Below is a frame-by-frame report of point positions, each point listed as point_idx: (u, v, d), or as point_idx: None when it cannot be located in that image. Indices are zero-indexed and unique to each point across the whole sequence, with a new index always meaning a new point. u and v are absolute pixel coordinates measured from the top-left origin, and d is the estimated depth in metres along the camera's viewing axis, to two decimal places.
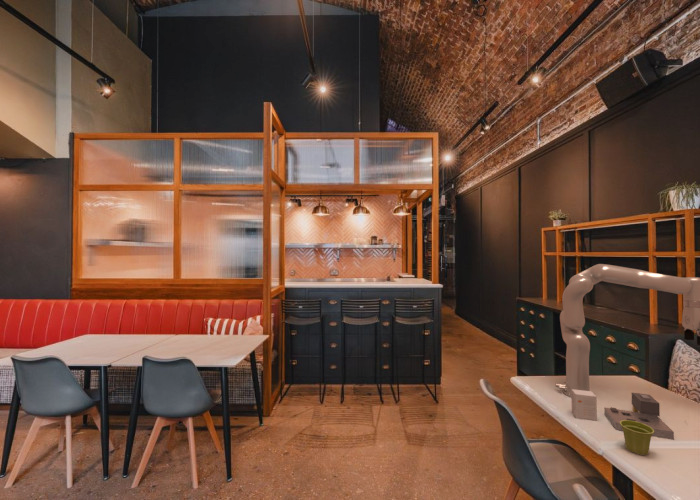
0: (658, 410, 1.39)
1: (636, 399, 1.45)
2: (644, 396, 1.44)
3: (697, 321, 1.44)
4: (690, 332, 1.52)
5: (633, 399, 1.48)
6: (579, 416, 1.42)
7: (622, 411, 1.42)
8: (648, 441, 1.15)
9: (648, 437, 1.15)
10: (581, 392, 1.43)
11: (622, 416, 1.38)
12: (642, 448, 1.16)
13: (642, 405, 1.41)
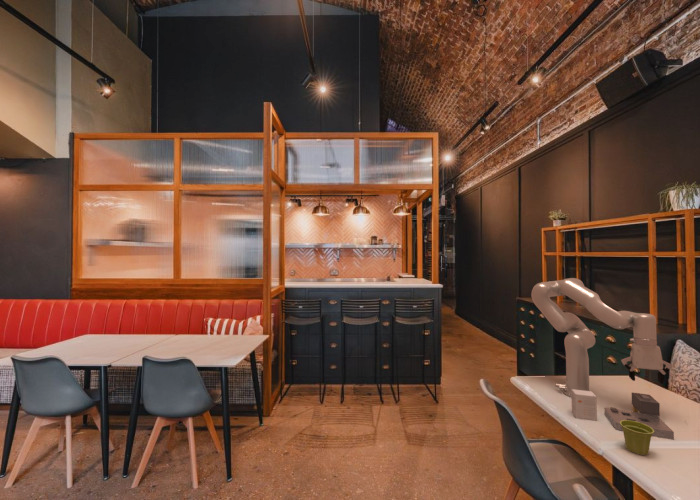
0: (658, 410, 1.39)
1: (636, 399, 1.45)
2: (644, 396, 1.44)
3: None
4: None
5: (633, 399, 1.48)
6: (579, 416, 1.42)
7: (622, 411, 1.42)
8: (648, 441, 1.15)
9: (648, 437, 1.15)
10: (581, 392, 1.43)
11: (622, 416, 1.38)
12: (642, 448, 1.16)
13: (642, 405, 1.41)
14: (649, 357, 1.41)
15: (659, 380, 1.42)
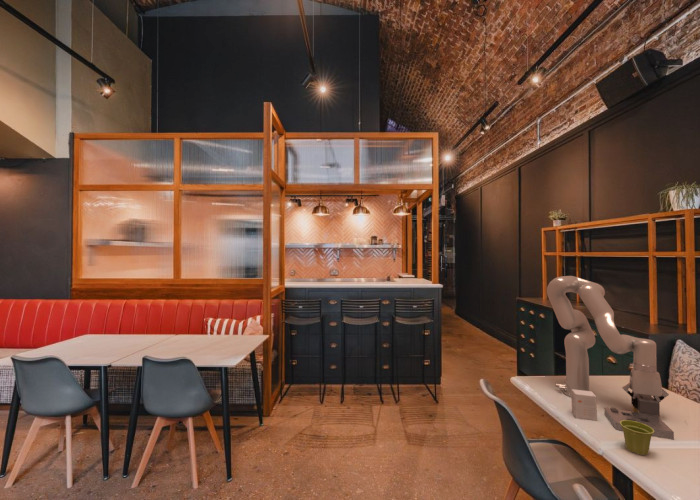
0: (658, 410, 1.38)
1: None
2: (644, 396, 1.44)
3: None
4: None
5: None
6: (579, 416, 1.42)
7: (622, 411, 1.42)
8: (648, 441, 1.15)
9: (648, 437, 1.15)
10: (581, 392, 1.43)
11: (622, 416, 1.38)
12: (642, 448, 1.16)
13: (642, 405, 1.41)
14: (648, 383, 1.41)
15: None
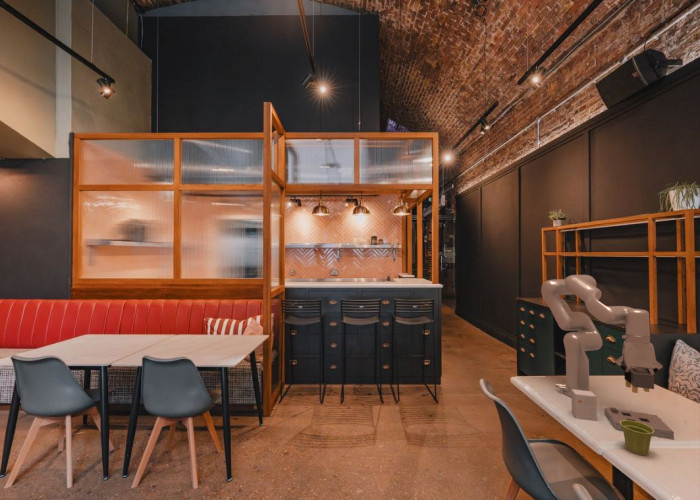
0: (652, 383, 1.31)
1: None
2: (637, 369, 1.36)
3: None
4: None
5: None
6: (579, 416, 1.42)
7: (622, 411, 1.42)
8: (648, 441, 1.15)
9: (648, 437, 1.15)
10: (581, 392, 1.43)
11: (622, 416, 1.38)
12: (642, 448, 1.16)
13: (636, 378, 1.33)
14: (642, 355, 1.34)
15: None
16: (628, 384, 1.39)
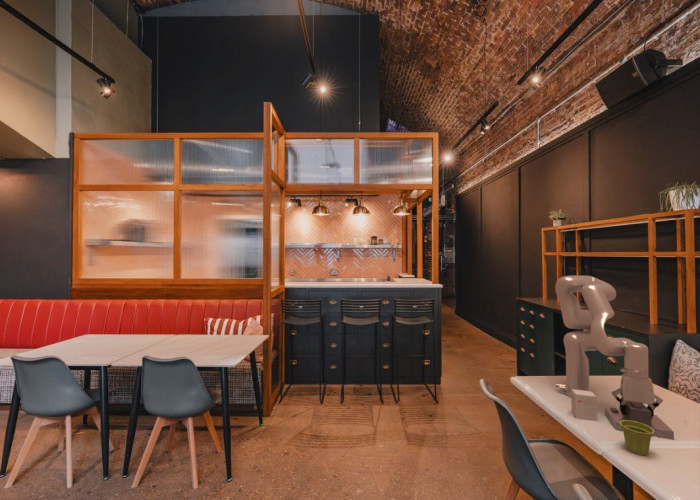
0: (650, 419, 1.30)
1: (627, 407, 1.36)
2: (635, 404, 1.35)
3: None
4: None
5: None
6: (579, 416, 1.42)
7: None
8: (648, 441, 1.15)
9: (648, 437, 1.15)
10: (581, 392, 1.43)
11: (622, 416, 1.38)
12: (642, 448, 1.16)
13: (633, 414, 1.32)
14: (640, 390, 1.33)
15: None
16: None
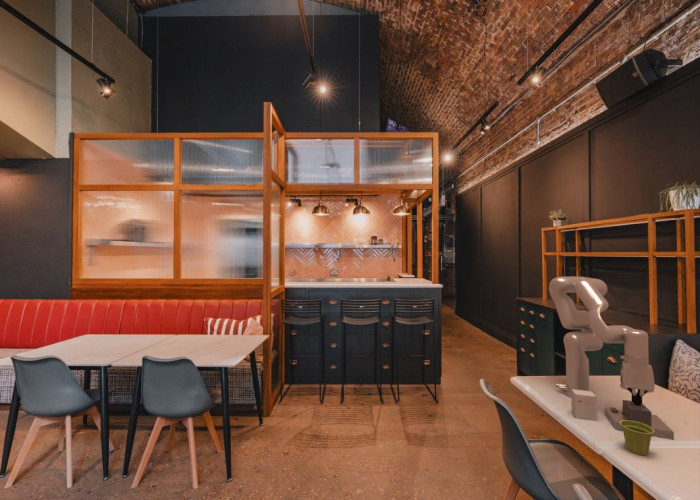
0: (650, 419, 1.30)
1: (627, 407, 1.36)
2: None
3: None
4: None
5: (624, 407, 1.39)
6: (579, 416, 1.42)
7: (622, 411, 1.42)
8: (648, 441, 1.15)
9: (648, 437, 1.15)
10: (581, 392, 1.43)
11: (622, 416, 1.38)
12: (642, 448, 1.16)
13: (633, 414, 1.32)
14: (640, 376, 1.33)
15: None
16: None
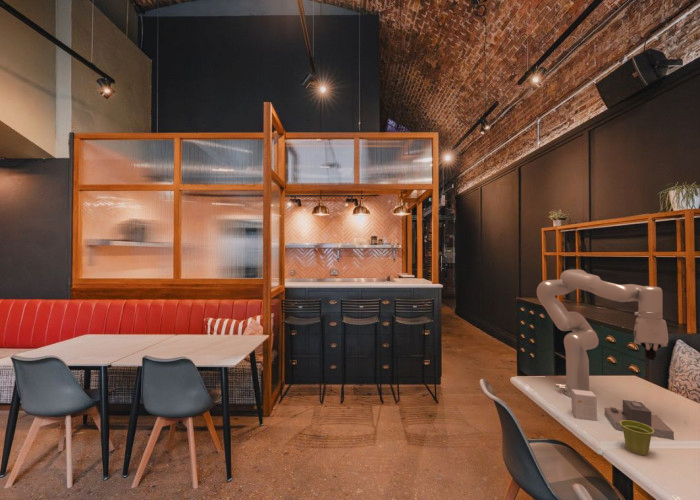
0: (650, 419, 1.30)
1: (627, 407, 1.36)
2: (635, 404, 1.35)
3: None
4: None
5: (624, 407, 1.39)
6: (579, 416, 1.42)
7: (622, 411, 1.42)
8: (648, 441, 1.15)
9: (648, 437, 1.15)
10: (581, 392, 1.43)
11: (622, 416, 1.38)
12: (642, 448, 1.16)
13: (633, 414, 1.32)
14: (654, 331, 1.36)
15: None
16: None
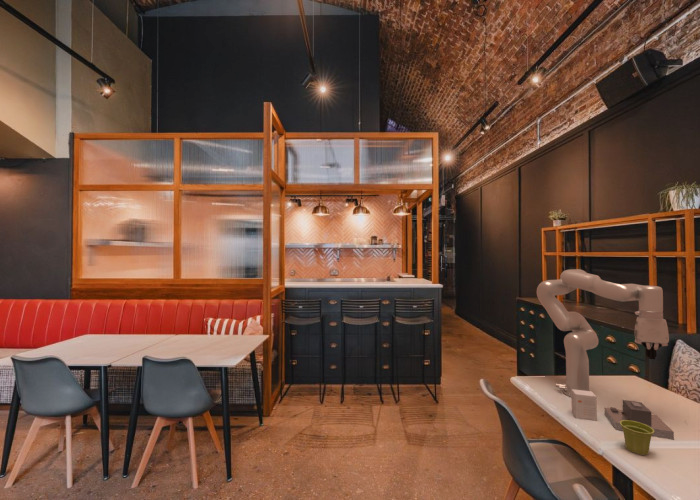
0: (650, 419, 1.30)
1: (627, 407, 1.36)
2: (635, 404, 1.35)
3: None
4: None
5: (624, 407, 1.39)
6: (579, 416, 1.42)
7: (622, 411, 1.42)
8: (648, 441, 1.15)
9: (648, 437, 1.15)
10: (581, 392, 1.43)
11: (622, 416, 1.38)
12: (642, 448, 1.16)
13: (633, 414, 1.32)
14: (655, 330, 1.36)
15: None
16: None
